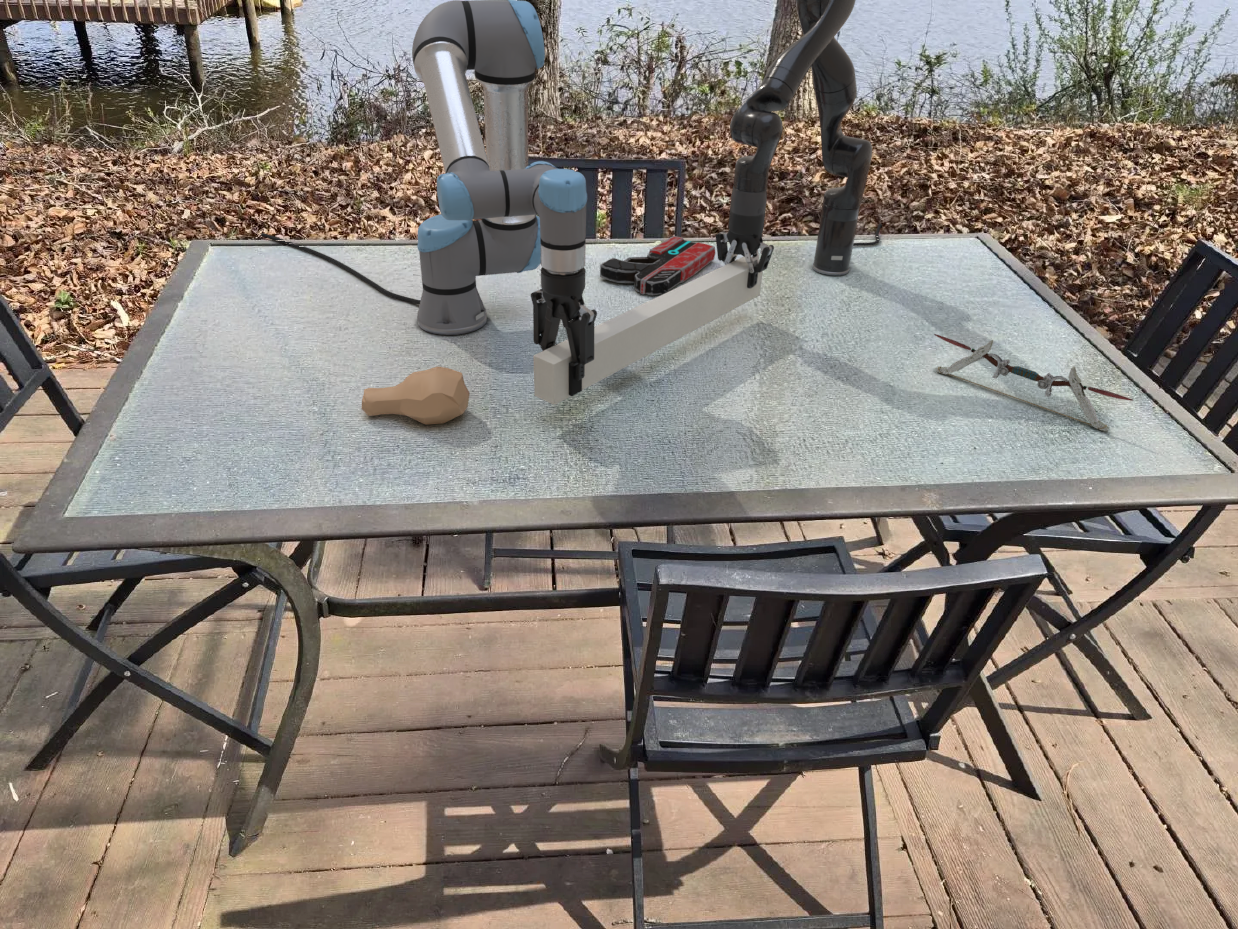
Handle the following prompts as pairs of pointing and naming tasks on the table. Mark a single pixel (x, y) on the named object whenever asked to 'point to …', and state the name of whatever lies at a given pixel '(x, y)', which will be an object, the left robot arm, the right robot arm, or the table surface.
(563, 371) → the beam
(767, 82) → the right robot arm
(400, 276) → the table surface
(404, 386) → the squash
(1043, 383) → the bow
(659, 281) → the gun
